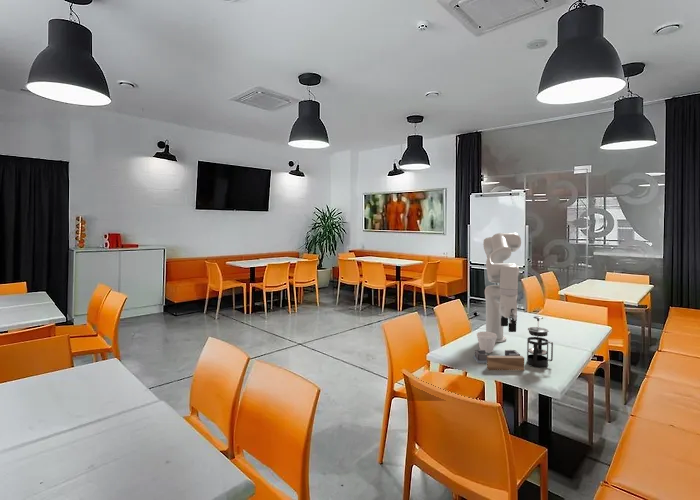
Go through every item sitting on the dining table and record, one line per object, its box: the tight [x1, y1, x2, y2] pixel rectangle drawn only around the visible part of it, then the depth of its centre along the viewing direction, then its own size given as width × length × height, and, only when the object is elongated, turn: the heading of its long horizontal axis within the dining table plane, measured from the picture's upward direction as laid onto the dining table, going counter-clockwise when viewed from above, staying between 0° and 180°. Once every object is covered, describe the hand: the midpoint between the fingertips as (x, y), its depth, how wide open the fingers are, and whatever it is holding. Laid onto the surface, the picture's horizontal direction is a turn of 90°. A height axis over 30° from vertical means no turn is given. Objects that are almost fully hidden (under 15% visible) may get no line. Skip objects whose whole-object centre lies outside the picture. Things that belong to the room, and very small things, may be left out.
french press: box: [526, 315, 554, 369], centre depth 183 cm, size 12×9×23 cm
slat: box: [486, 355, 525, 371], centre depth 179 cm, size 3×16×6 cm, turn 87°
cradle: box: [472, 349, 521, 364], centre depth 191 cm, size 8×21×4 cm, turn 88°
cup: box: [476, 331, 497, 354], centre depth 203 cm, size 10×10×9 cm
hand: (508, 328), depth 178 cm, fingers open, 9 cm apart
